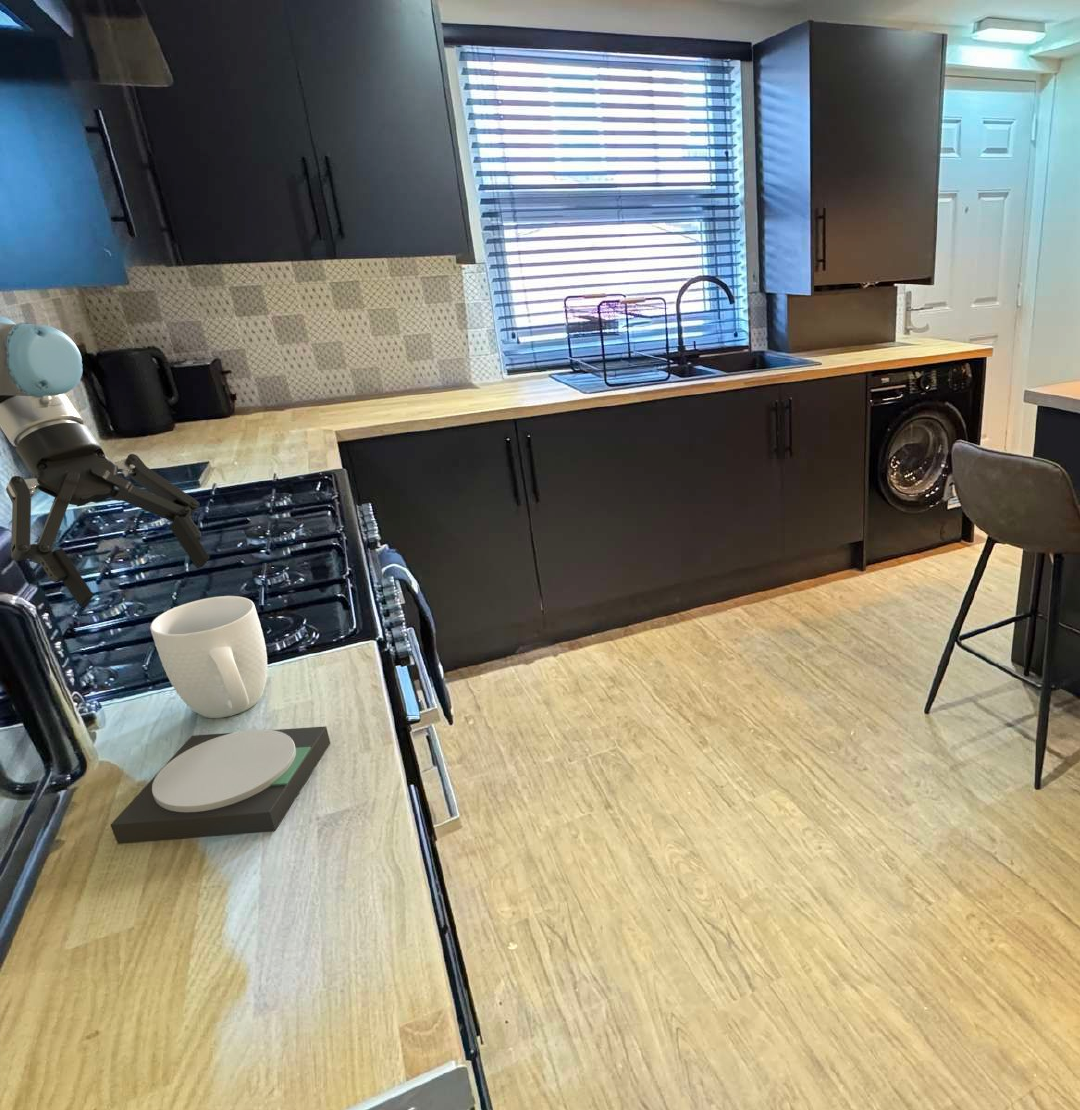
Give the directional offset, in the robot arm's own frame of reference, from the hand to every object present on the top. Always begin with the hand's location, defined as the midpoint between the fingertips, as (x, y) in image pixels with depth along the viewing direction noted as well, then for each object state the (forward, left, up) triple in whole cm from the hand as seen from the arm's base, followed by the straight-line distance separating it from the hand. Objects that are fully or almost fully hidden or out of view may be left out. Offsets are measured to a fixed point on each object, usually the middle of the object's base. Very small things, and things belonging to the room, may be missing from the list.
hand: (149, 581), depth 97 cm
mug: (+8, -4, -17) cm, 19 cm away
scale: (+16, -21, -16) cm, 31 cm away
